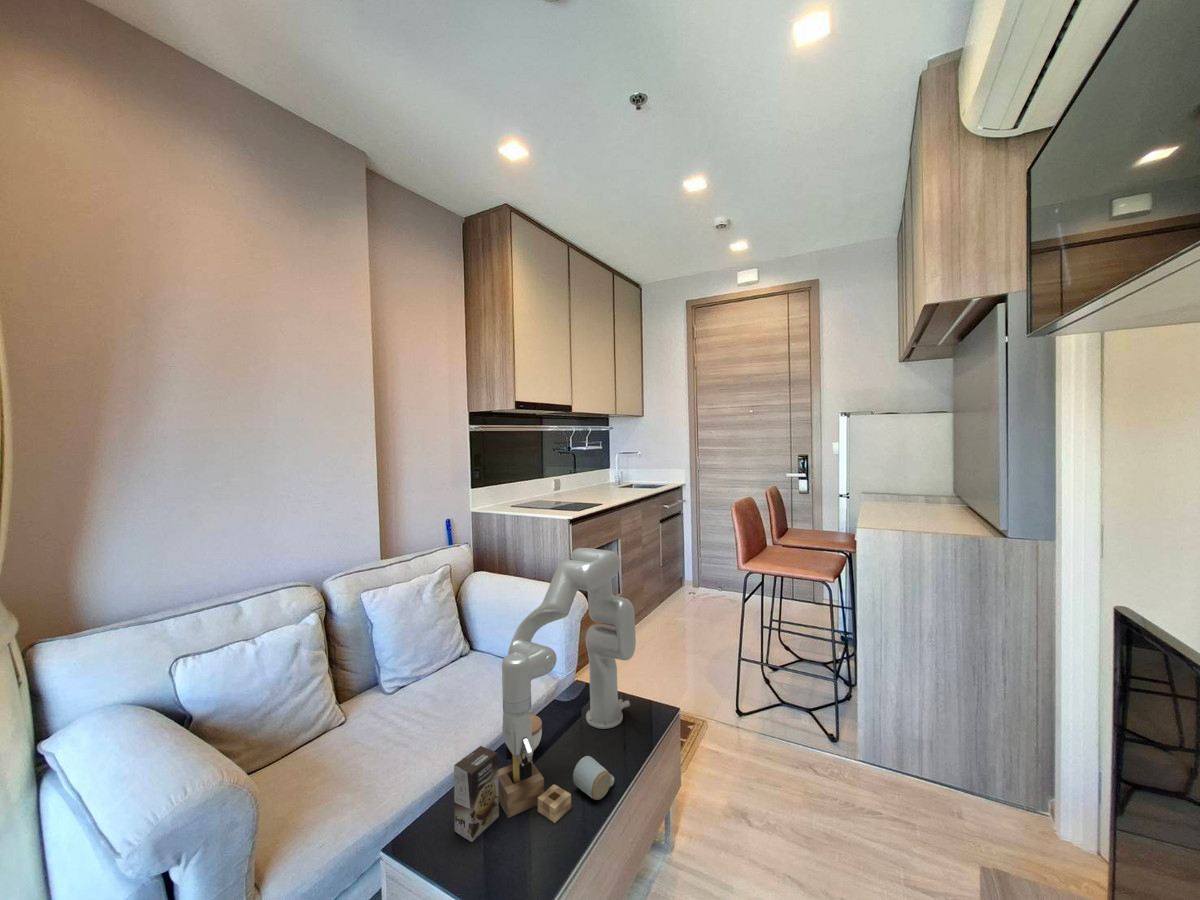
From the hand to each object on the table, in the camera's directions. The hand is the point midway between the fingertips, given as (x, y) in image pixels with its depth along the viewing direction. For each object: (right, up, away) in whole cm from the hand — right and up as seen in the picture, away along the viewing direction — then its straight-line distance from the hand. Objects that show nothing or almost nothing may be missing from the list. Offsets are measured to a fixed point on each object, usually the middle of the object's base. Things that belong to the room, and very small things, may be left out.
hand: (518, 767), depth 121 cm
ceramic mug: (+21, -8, +2) cm, 22 cm away
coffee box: (-9, -8, -8) cm, 15 cm away
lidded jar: (-2, -8, +20) cm, 22 cm away
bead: (0, -8, 0) cm, 8 cm away
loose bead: (+10, -8, -5) cm, 13 cm away
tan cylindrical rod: (0, -8, 0) cm, 8 cm away
